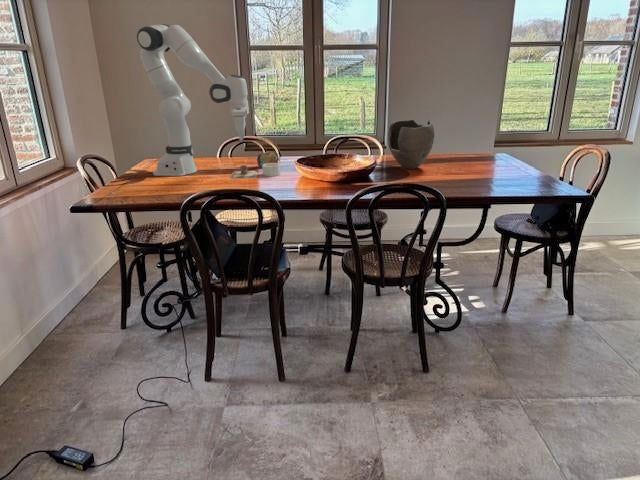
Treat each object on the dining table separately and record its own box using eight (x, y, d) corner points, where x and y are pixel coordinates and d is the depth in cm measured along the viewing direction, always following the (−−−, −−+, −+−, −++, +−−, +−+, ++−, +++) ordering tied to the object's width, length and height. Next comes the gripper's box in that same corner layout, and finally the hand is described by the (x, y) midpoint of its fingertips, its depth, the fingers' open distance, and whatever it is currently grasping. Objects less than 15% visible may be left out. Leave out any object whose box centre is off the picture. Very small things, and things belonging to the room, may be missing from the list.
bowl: (262, 177, 234) (262, 167, 232) (263, 173, 243) (262, 163, 241) (280, 177, 235) (280, 166, 233) (280, 172, 244) (279, 162, 242)
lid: (232, 178, 232) (231, 168, 230) (234, 173, 242) (233, 163, 240) (254, 177, 233) (254, 167, 231) (255, 172, 243) (254, 163, 241)
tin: (260, 169, 251) (259, 154, 248) (256, 169, 253) (255, 153, 250) (279, 164, 262) (278, 150, 259) (275, 164, 264) (274, 149, 261)
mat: (230, 179, 231) (230, 178, 231) (232, 173, 243) (232, 172, 243) (256, 178, 232) (256, 178, 232) (257, 172, 244) (257, 172, 244)
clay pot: (429, 163, 260) (432, 118, 251) (434, 174, 238) (438, 124, 229) (386, 163, 262) (388, 118, 253) (387, 173, 240) (389, 124, 231)
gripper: (234, 108, 235) (236, 135, 240) (231, 112, 216) (234, 142, 221) (247, 107, 236) (249, 135, 241) (245, 112, 217) (247, 142, 222)
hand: (241, 138), depth 231 cm, fingers open, 8 cm apart
